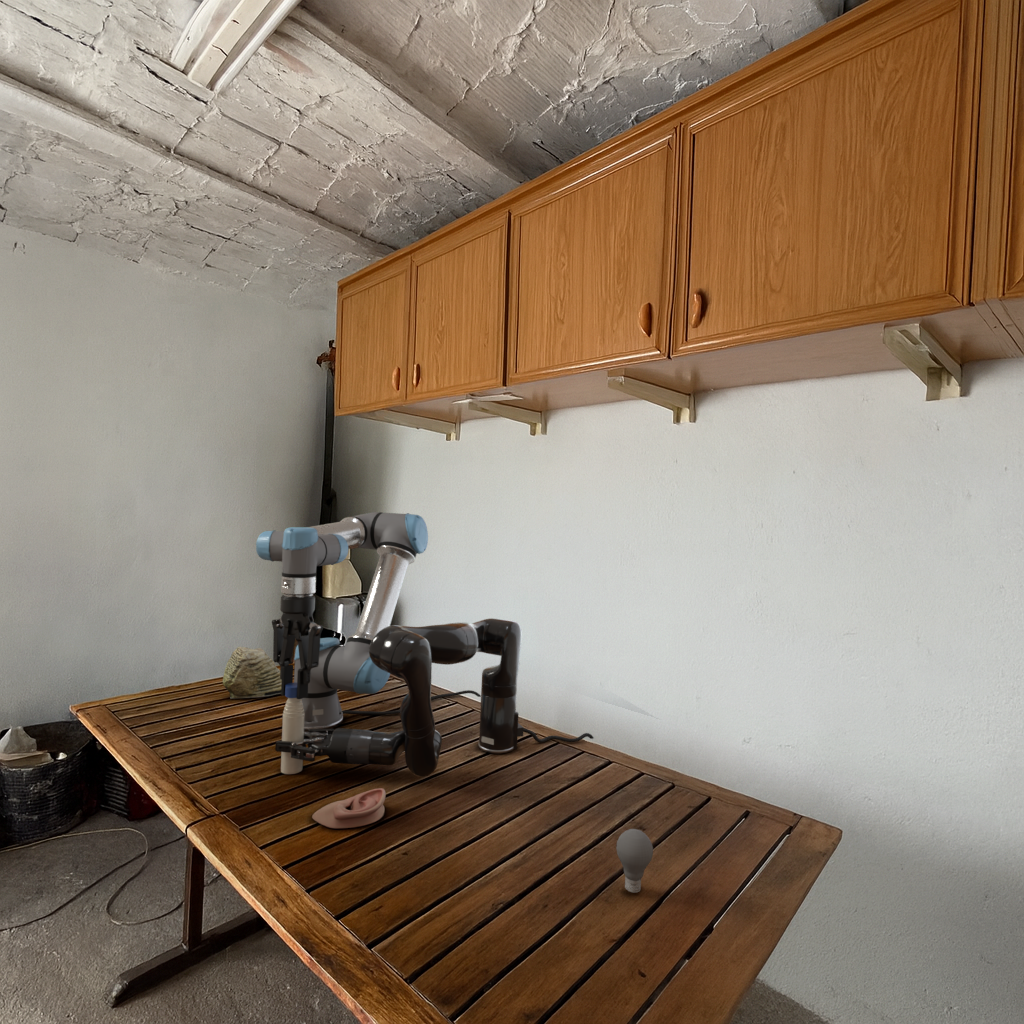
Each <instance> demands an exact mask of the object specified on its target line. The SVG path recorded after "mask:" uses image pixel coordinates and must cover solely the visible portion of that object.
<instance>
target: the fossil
mask: <svg viewBox="0 0 1024 1024" xmlns="http://www.w3.org/2000/svg"><path fill="white" fill-rule="evenodd" d="M222 676H223V677H222V685H223V687H224V688H225V690H226V691H228V693H229V698H230V699H250V698H264V697H271V696H275V695H281V684H282V680H281V679H280V669H279V668H278V667H277V665H276V662H274V661H273V658H271V657H270V656H269V655H268V654H267V653H266V652H265V650H264V649H263V648H260V647H258V648H251V647H247V646H246V647H245V646H238V647H237V648H236V649H235V650H233V651H232V653H231V656H230V657H229V659H228V660H227V663H226V666H225V668H224V671H223V675H222Z"/></svg>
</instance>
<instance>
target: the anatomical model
mask: <svg viewBox="0 0 1024 1024" xmlns="http://www.w3.org/2000/svg"><path fill="white" fill-rule="evenodd" d="M386 794H387V793H386V790H385V788H381V787H380V788H374V789H370V790H367V791H364V792H360V793H358V794H355V795H353V796H351V797H348V798H346V799H342V800H337V801H333V802H331V803H327V804H326V805H324V806H322V807H320V808H318V810H316V811H314V813H312V816H311V818H312V820H313V821H315V823H318V824H319V825H322V826H323V827H326V828H329V829H348V828H350V829H351V828H358V827H363V826H367V825H370V824H373V823H375V822H377V821H379V820H381V819H382V818H383V817H384V815H385V805H384V803H385V802H386V801H385V800H386V796H387V795H386Z"/></svg>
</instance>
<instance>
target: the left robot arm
mask: <svg viewBox="0 0 1024 1024" xmlns="http://www.w3.org/2000/svg"><path fill="white" fill-rule="evenodd" d="M255 542H256V543H255V550H256V554H257V556H258V557H259V558H260V559H261V560H263V561H270V562H281V563H282V564H281V565H282V568H281V586H280V593H281V594H282V595H281V596H280V608H279V609H280V612H281V616H280V618H276V619H272V620H271V626H272V630H273V641H272V645H273V649H272V653H273V654H272V660H273V661H274V663H277V664H278V666H279V667H280V669H279V670H280V679H281V680H282V684H281V693H280V696H281V697H282V696H283V697H284V696H285V686H286V684H288V683H294V682H297V699H301V700H302V703H303V706H304V708H303V709H304V712H305V718H304V732H308V730H309V729H336V728H338V727H339V726H340V725H342V723H343V722H344V715H367V716H371V715H372V716H389V715H397V714H400V709H396V710H389V711H387V710H386V711H372V710H371V711H369V710H343V709H342V706H341V702H340V699H339V695H338V691H345V692H351V693H356V694H358V695H363V694H366V695H373V694H376V693H378V692H380V690H382V689H383V688H384V687H385V685H386V684H387V683H388V681H389V678H390V676H391V674H390V673H388V672H385V671H384V670H381V669H380V668H378V667H377V666H376V665H375V664H374V663H373V662H372V660H371V658H370V655H369V647H370V644H371V641H372V639H373V638H374V637H375V635H376V634H377V633H378V632H379V631H381V630H382V629H384V628H386V627H388V626H391V624H392V621H393V616H394V613H395V610H396V607H397V605H398V604H397V603H398V600H399V597H400V594H401V590H402V587H403V583H404V580H405V577H406V573H407V570H408V566H409V565H411V564H413V563H414V562H415V560H416V557H417V555H420V554H423V553H424V552H426V550H427V547H428V542H429V532H428V526H427V524H426V521H425V519H424V518H423V517H422V516H421V515H419V514H415V513H414V514H413V513H409V512H408V513H398V512H397V513H396V512H381V511H375V512H374V511H373V512H366V513H361V514H357V515H356V514H355V515H352V516H347V517H344V518H342V519H341V520H340V521H336V522H331V523H325V524H319V525H312V526H305V527H304V526H291V527H287V528H285V529H284V530H265V531H263V532H261V533H260V534H259V535H258V537H257V539H256V541H255ZM355 549H367V550H374V551H376V553H377V555H378V556H379V558H378V561H377V564H376V567H375V571H374V574H373V577H372V580H371V584H370V586H369V589H368V592H367V595H366V599H365V602H364V605H363V608H362V611H361V614H360V617H359V621H358V624H357V627H356V629H355V633H353V634H351V635H350V636H348V637H347V639H346V642H345V645H340V644H341V641H340V639H339V638H337V637H321V635H322V632H323V629H324V625H323V624H318V623H316V622H315V620H314V619H315V618H314V617H313V614H314V612H315V610H316V596H315V595H314V594H315V593H316V591H317V589H316V588H317V587H316V586H317V567H323V566H334V565H336V564H340V563H342V562H343V561H344V560H345V559H346V558H347V556H348V554H349V550H355ZM295 642H297V645H296V647H295ZM294 648H295V652H294ZM293 652H294V653H295V654H294V658H293V660H294V661H292V657H293ZM293 662H294V665H293ZM464 694H465V695H466V694H472V695H475V696H476V697H478V698H481V693H478V692H477V691H475V690H470V689H468V690H461V691H456V692H451V693H442V694H436V695H431V701H432V700H436V699H440V698H447V697H455V696H460V695H464Z"/></svg>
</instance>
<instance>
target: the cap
mask: <svg viewBox="0 0 1024 1024" xmlns="http://www.w3.org/2000/svg"><path fill="white" fill-rule="evenodd" d="M284 696H285V698H287V699H288V698H297V682H294V681H293V683H288V684H286V686H285V695H284Z"/></svg>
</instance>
